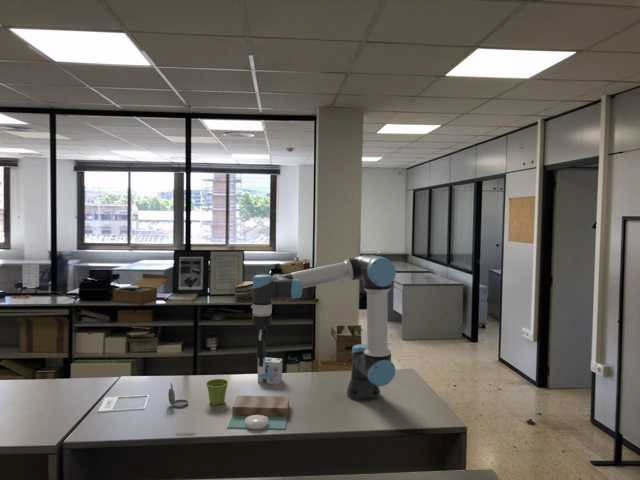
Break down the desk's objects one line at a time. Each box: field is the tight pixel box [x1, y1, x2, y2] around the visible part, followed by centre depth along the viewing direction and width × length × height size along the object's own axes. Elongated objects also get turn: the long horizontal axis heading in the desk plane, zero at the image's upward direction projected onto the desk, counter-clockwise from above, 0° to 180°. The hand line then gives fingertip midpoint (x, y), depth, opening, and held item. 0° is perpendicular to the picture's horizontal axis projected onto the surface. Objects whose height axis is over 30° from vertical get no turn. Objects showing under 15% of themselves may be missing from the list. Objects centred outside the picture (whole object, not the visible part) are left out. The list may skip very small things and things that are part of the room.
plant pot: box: [205, 378, 229, 406], centre depth 207 cm, size 9×9×9 cm
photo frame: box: [97, 394, 150, 413], centre depth 204 cm, size 15×1×18 cm
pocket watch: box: [168, 382, 189, 408], centre depth 203 cm, size 8×8×10 cm
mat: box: [226, 415, 288, 431], centre depth 188 cm, size 22×10×1 cm, turn 90°
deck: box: [231, 394, 290, 418], centre depth 199 cm, size 22×12×4 cm, turn 90°
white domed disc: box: [245, 415, 269, 430], centre depth 186 cm, size 9×9×2 cm
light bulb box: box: [257, 356, 283, 385], centre depth 234 cm, size 11×7×11 cm, turn 81°
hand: (261, 373), depth 191 cm, fingers closed
